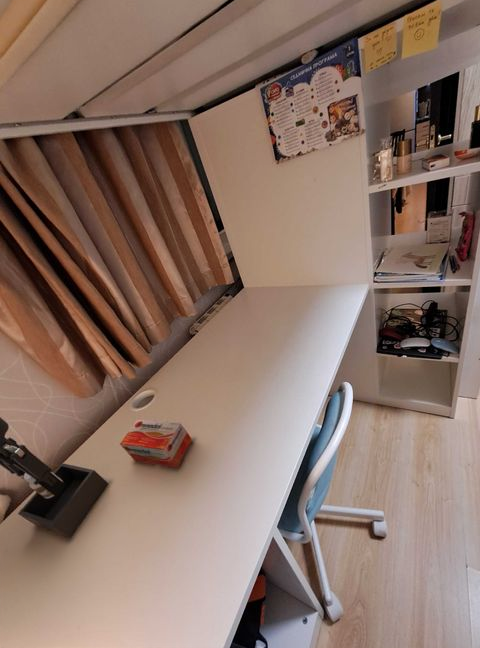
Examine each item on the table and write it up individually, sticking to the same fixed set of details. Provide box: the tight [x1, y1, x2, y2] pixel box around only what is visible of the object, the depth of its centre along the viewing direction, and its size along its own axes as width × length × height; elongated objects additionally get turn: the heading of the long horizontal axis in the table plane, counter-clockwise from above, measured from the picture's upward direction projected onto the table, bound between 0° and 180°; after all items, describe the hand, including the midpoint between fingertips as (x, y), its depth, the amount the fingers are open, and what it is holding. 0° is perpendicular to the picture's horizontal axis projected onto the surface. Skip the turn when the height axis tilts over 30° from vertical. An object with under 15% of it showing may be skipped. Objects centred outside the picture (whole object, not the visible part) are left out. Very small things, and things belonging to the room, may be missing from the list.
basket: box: [17, 462, 110, 539], centre depth 71 cm, size 13×13×6 cm
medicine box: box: [119, 419, 193, 468], centre depth 76 cm, size 15×8×8 cm, turn 73°
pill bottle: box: [22, 472, 63, 498], centre depth 66 cm, size 4×4×8 cm
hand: (53, 488), depth 68 cm, fingers closed on pill bottle, 4 cm apart
